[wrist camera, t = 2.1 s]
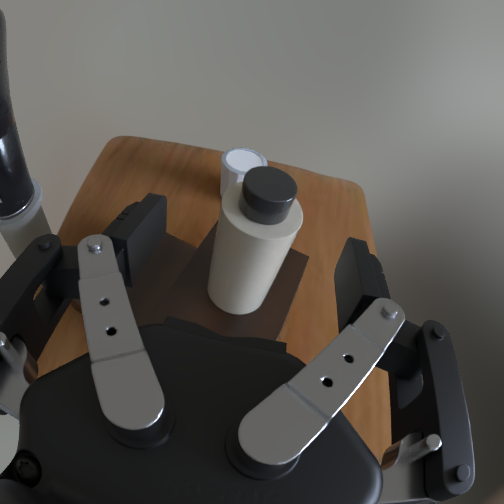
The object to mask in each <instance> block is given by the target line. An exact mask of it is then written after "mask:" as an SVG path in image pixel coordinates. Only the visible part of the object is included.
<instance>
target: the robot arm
mask: <svg viewBox="0 0 504 504" xmlns="http://www.w3.org/2000/svg"><path fill="white" fill-rule="evenodd" d="M34 195H35V189H34V186H33V184H32V181H31V178H30V175H29V172H28V168H27V165H26V162H25V158H24V154H23V151H22V147H21V143H20V139H19V135H18V131H17V127H16V122H15V118H14V113H13V108H12V103H11V97H10V90H9V78H8V70H7V52H6V21H5V17H4V14H3V12H2V11H1V10H0V220H8V219H11V218H14V217H16V216H18V215H19V214H21V213H22V212H23V211H24V210H25V209H26V208H27V207H28V206H29V205H30V204H31V202H32V200H33V198H34ZM166 211H167V199H166V196H163V195H157V194H152V193H149V194H148V195H147V196H146V197H145V198H144V199H143V200H142V201H141V202H135V203H133V204H131V205H129V206H127V207H126V208H125V209H124V210H123V211H122V212H121V214H119V215H118V216H117V218H116V219H115V220H114V221H113V222H112V223H111V224H110V225H109V226H108V227H107V228H106V229H105V230H104V232H103V233H102V234H96V235H90V236H88V237H86V238H84V239H83V240H81V241H80V242H79V244H78V246H62V245H61V241H60V238H59V237H58V236H57V235H54V234H46V235H42V236H40V237H38V238H36V239H35V240H34V241H33V242H32V243H31V244H30V245H29V246H28V247H27V248H26V249H25V250H24V252H23V253H22V254H21V255H20V256H19V257H18V258H17V259H16V261H15V262H14V263H13V264H12V265H11V266H10V268H9V269H8V270H7V271H6V272H5V274H4V275H3V276H2V277H1V279H0V415H6V414H9V415H11V416H13V417H14V418H16V419H18V420H19V422H20V423H19V424H20V430H19V442H18V448H17V452H16V454H15V457H14V458H13V460H12V461H11V463H10V464H9V465H8V466H7V468H6V469H5V470H4V471H3V472H2V473H1V474H0V504H436V503H439V502H442V501H445V500H448V499H451V498H454V497H456V496H459V495H461V494H464V493H465V492H467V491H468V490H469V489H470V488H471V486H472V484H473V481H474V478H475V467H474V454H473V445H472V437H471V429H470V422H469V416H468V410H467V405H466V399H465V394H464V389H463V384H462V380H461V375H460V371H459V367H458V363H457V359H456V355H455V351H454V348H453V344H452V340H451V337H450V334H449V332H448V331H447V329H446V328H445V327H444V326H443V325H442V324H440V323H439V322H437V321H433V320H428V321H426V322H425V323H424V324H423V325H422V327H419V326H417V325H415V324H413V323H411V322H409V321H407V320H405V315H404V312H403V310H402V308H401V307H400V306H399V305H398V304H397V303H395V302H394V301H392V300H391V298H390V294H389V290H388V287H387V283H386V280H385V277H384V274H383V270H382V266H381V263H380V262H379V260H378V259H377V258H376V257H375V255H373V254H370V253H369V250H368V246H367V243H366V241H363V240H359V239H355V238H351V237H349V238H348V239H347V241H346V244H345V246H344V249H343V251H342V253H341V256H340V258H339V261H338V263H337V265H336V269H335V274H334V282H335V292H336V303H337V314H338V327H339V335H338V336H337V337H336V338H335V339H334V340H333V341H332V342H331V343H330V344H329V345H328V346H327V347H325V348H324V349H323V350H322V351H321V352H320V353H319V354H318V355H317V356H316V357H315V358H314V359H313V360H312V361H311V362H310V363H309V364H308V365H306V364H305V363H303V362H302V361H301V360H299V359H298V358H297V357H295V356H293V355H291V354H289V353H287V352H286V345H287V343H284V342H278V341H273V340H268V339H263V338H259V337H225V336H222V335H220V334H217V333H215V332H213V331H211V330H209V329H207V328H205V327H203V326H201V325H199V324H197V323H194V322H190V321H186V320H182V319H179V318H175V317H171V316H167V317H166V320H165V322H164V324H149V325H144V326H140V327H137V324H136V321H135V318H134V315H133V312H132V309H131V305H130V302H129V299H128V295H127V292H126V288H125V286H127V287H130V288H133V286H134V284H135V283H136V281H137V279H138V278H139V276H140V274H141V273H142V271H143V270H144V268H145V266H146V265H147V263H148V262H149V260H150V259H151V257H152V255H153V254H154V252H155V251H156V249H157V248H158V246H159V245H160V243H161V242H162V240H163V238H164V235H165V232H166ZM41 284H42V286H43V288H42V289H41V291H40V292H39V294H38V295H37V297H36V298H35V299H34V301H33V298H34V294H35V292H36V290H37V289H38V287H39V286H40V285H41ZM72 299H80V301H81V308H82V315H83V321H84V327H85V333H86V339H87V344H88V349H89V352H88V353H86V354H84V355H82V356H80V357H78V358H76V359H74V360H72V361H70V362H69V363H67V364H65V365H63V366H61V367H59V368H57V369H55V370H53V371H51V372H49V373H47V374H45V375H43V376H41V377H39V378H38V379H37V376H38V365H37V363H36V362H37V360H38V359H39V357H40V355H41V353H42V351H43V349H44V347H45V345H46V344H47V342H48V340H49V338H50V336H51V335H52V333H53V331H54V329H55V328H56V326H57V324H58V323H59V321H60V319H61V317H62V316H63V314H64V312H65V311H66V309H67V308H68V306H69V304H70V303H71V301H72ZM374 366H376V367H378V368H381V369H383V370H385V371H387V372H388V376H389V389H390V406H391V434H392V445H391V446H390V447H388V448H387V449H386V451H385V452H384V454H383V458H382V463H381V465H380V464H379V462H378V460H377V459H376V457H375V456H374V455H373V453H372V452H371V451H370V449H369V448H368V447H367V445H366V444H365V443H364V441H363V440H362V439H361V437H360V436H359V435H358V433H357V432H356V430H355V429H354V428H353V426H352V425H351V424H350V422H349V421H348V420H347V418H346V417H345V416H344V414H343V413H342V411H341V410H340V409H341V408H342V406H343V405H344V404H345V403H346V402H347V400H348V399H349V398H350V397H351V396H352V394H353V393H354V392H355V391H356V389H357V388H358V387H359V386H360V384H361V383H362V382H363V381H364V379H365V378H366V377H367V375H368V374H369V373H370V371H371V370H372V369H373V367H374ZM421 375H423V383H422V377H421Z"/></svg>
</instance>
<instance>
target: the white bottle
mask: <svg viewBox="0 0 504 504" xmlns="http://www.w3.org/2000/svg"><path fill="white" fill-rule="evenodd" d="M297 191H298V190H297V185H296V182H295V181H294V180H293V178H292V177H291V176H290V175H288V174H287V173H286V172H284V171H282V170H280V169H277V168H274V167H269V166H258V167H254V168H251V169H250V170H248V171H247V172H246V174H245V176H244V179H243V181H241V182H238V183H235V184H234V185H232V186H231V187H229V188H228V189H227V190H226V192H225V193H224V195H223V197H222V202H221V207H220V213H219V218H218V224H217V229H216V235H215V241H214V247H213V253H212V259H211V265H210V271H209V277H208V283H207V289H208V294H209V296H210V298H211V300H212V301H213V303H214V304H215V305H216V306H217V307H219V308H220V309H222V310H223V311H225V312H228V313H231V314H239V315H240V314H247V313H250V312H253V311H255V310H256V309H258V308H259V307H260V306H261V304H262V303H263V301H264V299H265V297H266V296H267V294H268V292H269V290H270V288H271V286H272V284H273V282H274V280H275V278H276V276H277V274H278V272H279V270H280V268H281V266H282V264H283V262H284V260H285V258H286V256H287V254H288V252H289V250H290V248H291V245H292V243H293V241H294V239H295V237H296V235H297V233H298V231H299V229H300V227H301V225H302V222H303V212H302V209H301V206H300V204H299V202H298V201H297V200H296V198H295V197H296V195H297Z"/></svg>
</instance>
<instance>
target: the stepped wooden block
mask: <svg viewBox="0 0 504 504" xmlns="http://www.w3.org/2000/svg"><path fill="white" fill-rule="evenodd" d="M217 224H218V221H217V222H216V224H215V225H214V226H213V228H212V229H211V231H210V232H209V233H208V235H207V236H206V238H205V239H204V240H203V242H202V243H201V245H200V246H199V247H198V248H196V247H194V246H192V245H190V244H188V243H186V242H184V241H182V240H180V239H178V238H176V237H174V236H172V235H170V234H168V233H166V232H165V235H164V238H163V240H162V242H161V243H160V245H159V246H158V248H157V249H156V251H155V252H154V254H153V255H152V257H151V259H150V260H149V262H148V263H147V265H146V266H145V268H144V270H143V271H142V273H141V274H140V276H139V278H138V279H137V281H136V283H135V284H134V286H133V288H130V287H127V286H125V288H126V292H127V295H128V299H129V302H130V305H131V309H132V312H133V315H134V318H135V321H136V324H137V327H140V326H144V325H149V324H164V322H165V320H166V317H167V316H171V317H175V318H179V319H182V320H186V321H190V322H194V323H197V324H199V325H201V326H203V327H205V328H207V329H209V330H211V331H213V332H215V333H217V334H220V335H222V336H225V337H259V338H263V339H268V340H273V341H277V340H278V337H279V335H280V332H281V330H282V328H283V325H284V322H285V320H286V317H287V315H288V312H289V310H290V307H291V305H292V302H293V299H294V297H295V294H296V292H297V289H298V286H299V284H300V281H301V278H302V276H303V273H304V270H305V268H306V265H307V262H308V259H309V256H306V255H304V254H302V253H300V252H298V251H296V250H294V249H292V248H290V250H289V252H288V254H287V256H286V258H285V260H284V262H283V264H282V266H281V268H280V270H279V272H278V274H277V276H276V278H275V280H274V282H273V284H272V286H271V288H270V290H269V292H268V294H267V296H266V297H265V299H264V301H263V303H262V304H261V306H260V307H259V308H258V309H256V310H255V311H253V312H250V313H247V314H240V315H239V314H231V313H228V312H225V311H223V310H222V309H220V308H219V307H217V306H216V305H215V304H214V303H213V301H212V300H211V298H210V296H209V294H208V289H207V283H208V277H209V271H210V265H211V259H212V253H213V247H214V241H215V235H216V229H217ZM71 304H72V306H73V307H74V308H75V309H76V310H77V311H79V312H80V313H82V308H81V301H80V299H72V301H71Z"/></svg>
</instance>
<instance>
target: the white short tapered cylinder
mask: <svg viewBox="0 0 504 504" xmlns="http://www.w3.org/2000/svg"><path fill="white" fill-rule="evenodd" d="M258 166H267V161H266V159H265V158H264V157H263V156H262V155H261V154H259V153H258V152H256V151H254V150H251V149H247V148H232V149H230V150H227V151H226V152H225V153H224V154H223V155H222V160H221V183H220V195H221V197H223V195H224V193H225V192H226V190H227V189H228V188H229V187H231V186H232V185H234V184H235V183H238V182H241V181H243V179H244V176H245V174H246V172H247V171H248V170H250V169H251V168H254V167H258Z"/></svg>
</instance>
